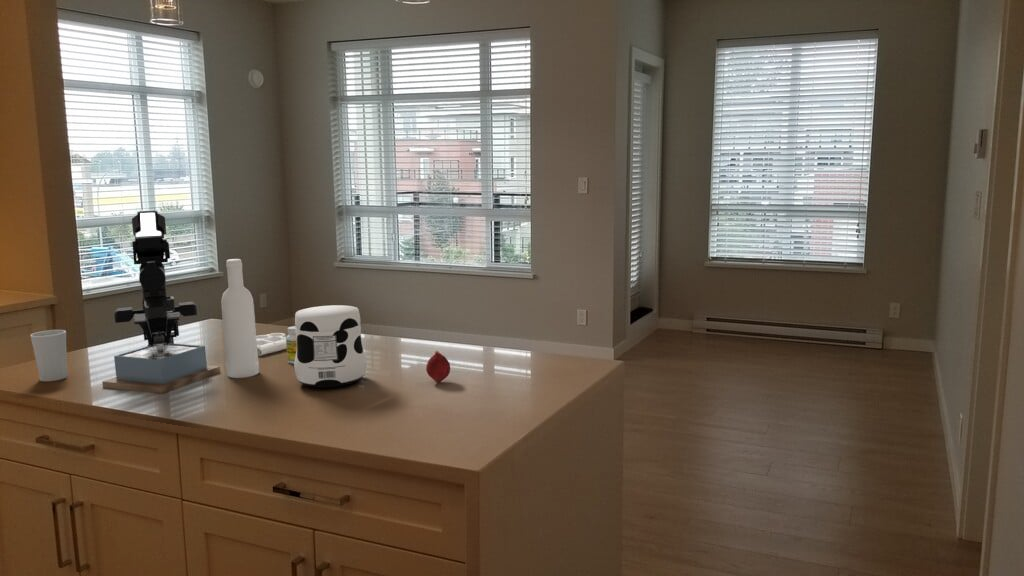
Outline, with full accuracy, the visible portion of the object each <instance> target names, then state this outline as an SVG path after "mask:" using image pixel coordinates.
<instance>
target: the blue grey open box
mask: <svg viewBox="0 0 1024 576" xmlns="http://www.w3.org/2000/svg"><path fill="white" fill-rule="evenodd" d="M163 345H167V343H163ZM168 345H172V346H185V347H198V348H194V349H191V350H188V351H185V352H182V353H179V354H176V355H172V356H169V357H166V358H163V359H152V358H140V357H129V356H124V355H127V354H130V353H134V352H137V351H141V350H144V349H147V348H151V347H154V346H156V344H154V345H153V346H151V345H150V346H148V345H147V346H143V347H141V348H136V349H134V350H130V351H127V352H123V353H120V354H116V355H114V356H113V358H114V369H115V377H116V378H117V379H118V380H127V381H137V382H147V383H157V384H165V383H167V382H170V381H173V380H176V379H179V378H181V377H184V376H187V375H190V374H193V373H195V372H198V371H201V370H204V369H207V365H208V364H207V353H206V345H200V344H199V345H195V344H182V343H174V344H173V343H169V344H168Z"/></svg>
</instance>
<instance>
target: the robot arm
mask: <svg viewBox="0 0 1024 576" xmlns="http://www.w3.org/2000/svg"><path fill="white" fill-rule="evenodd" d="M158 212H159V211H158V210H156V209H141V210H139V211H137V214H136V215H135V216H134V217H132V218H131V225H132V234H133V237H134V239H132V241H131V242H132V254H133V255H132V257H133V264H134V265H139V268H138V269H139V274H138V275H139V276H138V280H139V283H140V285H141V287H140V289H141V296H142V303H141V304H142V308H141V309H133V306H128V307H117V308H116V309H115V311H114V322H115V323H116V324H119V323H129V322H131V321H132V319H133V323H134V325H139V327H140V329H142V332H143V339H144V340H143V341H147V346H150V345H151V346H153V345H154V343H153V341H152V333H154V332H166V342H165V343H167V345H168V344H169V343H173V344H175V342H174V341H175V340H174V338H178V337H179V336H180V331H179V330H180V329H179V320H180V319H181V318H180V315H182V316H183V317H193V316H197V315H198V311H197V310H198V309H197V305H196V302H194V301H185V302H184V301H183V302H178V305H176V306H175V299H174V298H175V297H174V296H168V290H167V281H166V279H167V278H166V269H165V268H166V267H165V265H164V263H168V262H169V260H168V259H171V253H170V251H171V250H170V243H169V241H168V240H167V239H168V238H165V235H167V226H166V217H165V216H163V215H162V214H160V213H158Z"/></svg>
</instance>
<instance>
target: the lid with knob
mask: <svg viewBox="0 0 1024 576" xmlns="http://www.w3.org/2000/svg"><path fill="white" fill-rule="evenodd" d="M152 341H153V343H154V344H156V346H154V347H151V348H147V349H144V350H141V351H137V352H134V353H130V354H127V355H124V356H129V357H140V358H152V359H163V358H166V357H169V356H172V355H176V354H179V353H182V352H185V351H188V350H191V349H194V348H198V347H185V346H172V345H163V343H165V342H166V332H154V333H152Z"/></svg>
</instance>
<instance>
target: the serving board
mask: <svg viewBox="0 0 1024 576" xmlns="http://www.w3.org/2000/svg"><path fill="white" fill-rule="evenodd" d="M219 373H221V366H219V365H208V364H207V369H204V370H201V371H198V372H195V373H193V374H190V375H187V376H184V377H181V378H179V379H176V380H173V381H170V382H167V383H165V384H157V383H147V382H137V381H127V380H118V379H117V378H116V376H115V377H112V378H108V379H106V380H103V381H102V382H101V383H102V388H104V389H106V388H107V389H114V390H115V389H117V390H126V391H134V392H144V393H151V394H152V393H154V394H164V393H167V392H170V391H174V390H175V389H178V388H181V387H184V386H186V385H189V384H192V383H195V382H197V381H200V380H202V379H205V378H207V377H210V376H213V375H216V374H219Z"/></svg>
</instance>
